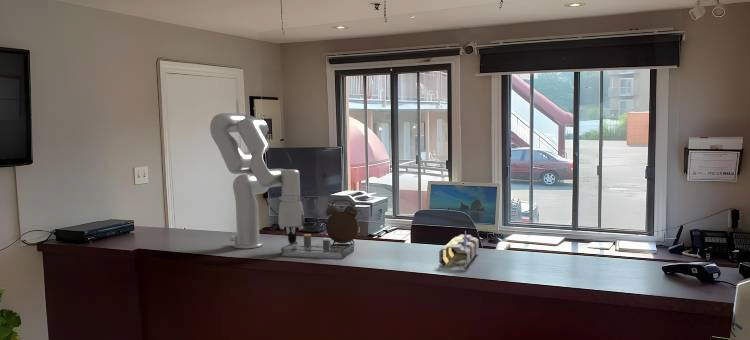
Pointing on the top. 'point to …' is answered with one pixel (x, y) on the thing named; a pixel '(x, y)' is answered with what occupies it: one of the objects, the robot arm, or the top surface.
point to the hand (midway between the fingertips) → (292, 242)
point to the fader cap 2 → (326, 244)
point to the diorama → (459, 248)
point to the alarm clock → (342, 223)
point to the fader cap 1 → (307, 240)
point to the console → (316, 251)
